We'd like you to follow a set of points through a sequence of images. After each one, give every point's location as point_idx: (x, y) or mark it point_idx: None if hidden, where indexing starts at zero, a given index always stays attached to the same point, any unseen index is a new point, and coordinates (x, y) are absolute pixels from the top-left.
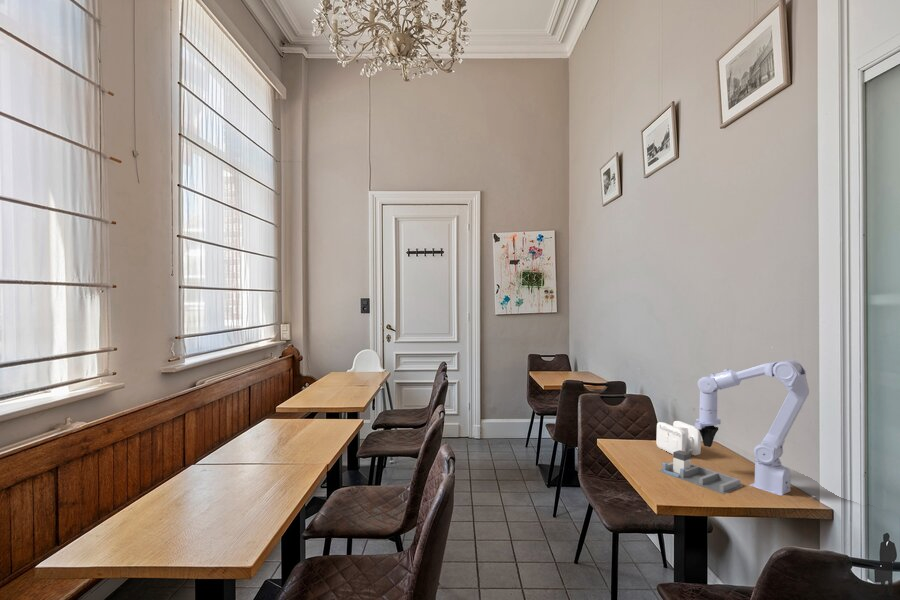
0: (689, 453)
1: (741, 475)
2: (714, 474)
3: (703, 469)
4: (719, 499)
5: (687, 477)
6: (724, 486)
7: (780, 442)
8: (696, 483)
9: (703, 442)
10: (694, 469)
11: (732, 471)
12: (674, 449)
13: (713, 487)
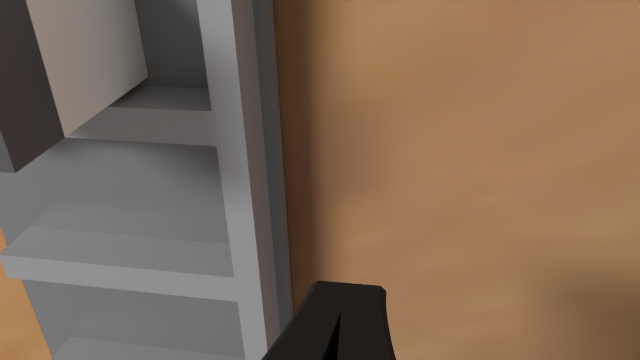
0: (1, 166)
1: (567, 320)
2: (184, 293)
3: (225, 185)
4: (3, 351)
5: None
6: None
7: None
8: (12, 216)
9: (297, 317)
10: (137, 138)
11: (623, 251)
12: None
13: (77, 301)
